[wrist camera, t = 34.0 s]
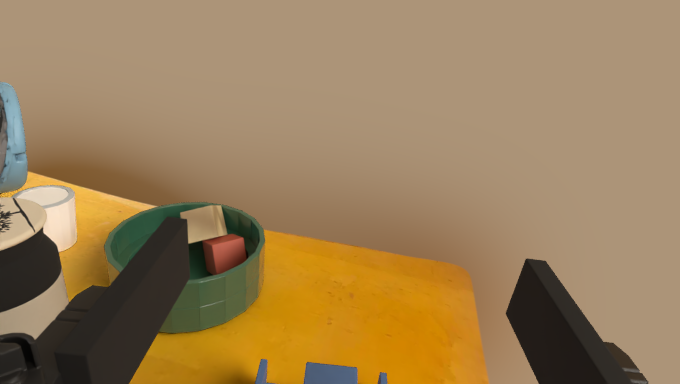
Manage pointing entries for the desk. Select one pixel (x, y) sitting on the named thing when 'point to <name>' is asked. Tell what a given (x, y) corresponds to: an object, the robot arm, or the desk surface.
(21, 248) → the travel mug
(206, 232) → the maple block
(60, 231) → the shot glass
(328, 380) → the scoop
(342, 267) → the desk surface
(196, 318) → the green pet bowl
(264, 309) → the desk surface
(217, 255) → the brick block
